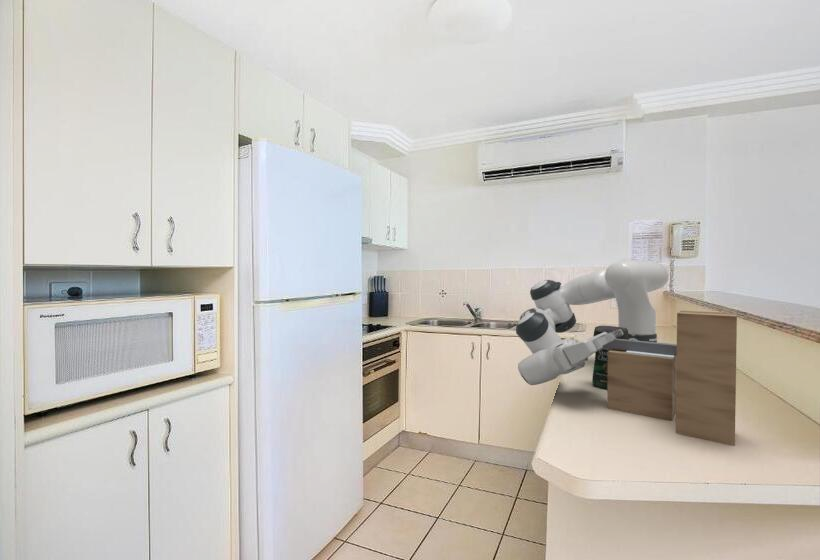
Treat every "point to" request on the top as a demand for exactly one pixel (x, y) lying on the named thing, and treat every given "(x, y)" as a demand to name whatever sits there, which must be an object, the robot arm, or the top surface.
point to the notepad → (650, 354)
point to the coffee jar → (604, 356)
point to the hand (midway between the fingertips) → (617, 333)
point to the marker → (643, 346)
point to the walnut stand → (683, 378)
